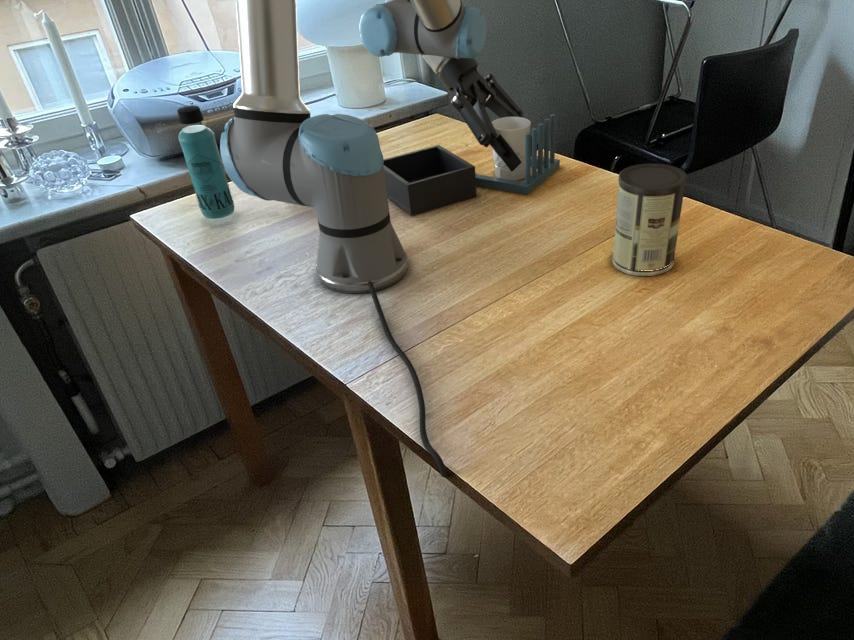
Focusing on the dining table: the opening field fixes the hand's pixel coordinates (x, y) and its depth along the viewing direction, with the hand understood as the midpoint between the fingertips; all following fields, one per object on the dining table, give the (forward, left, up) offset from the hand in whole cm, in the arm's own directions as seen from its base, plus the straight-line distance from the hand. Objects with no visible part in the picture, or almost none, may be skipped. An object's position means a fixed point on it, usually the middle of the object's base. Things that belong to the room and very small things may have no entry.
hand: (526, 159), depth 145 cm
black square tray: (+5, +20, -4) cm, 21 cm away
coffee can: (-42, +4, -4) cm, 42 cm away
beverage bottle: (+19, +58, -4) cm, 62 cm away
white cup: (+3, +2, -4) cm, 5 cm away
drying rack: (+3, +2, -4) cm, 5 cm away
